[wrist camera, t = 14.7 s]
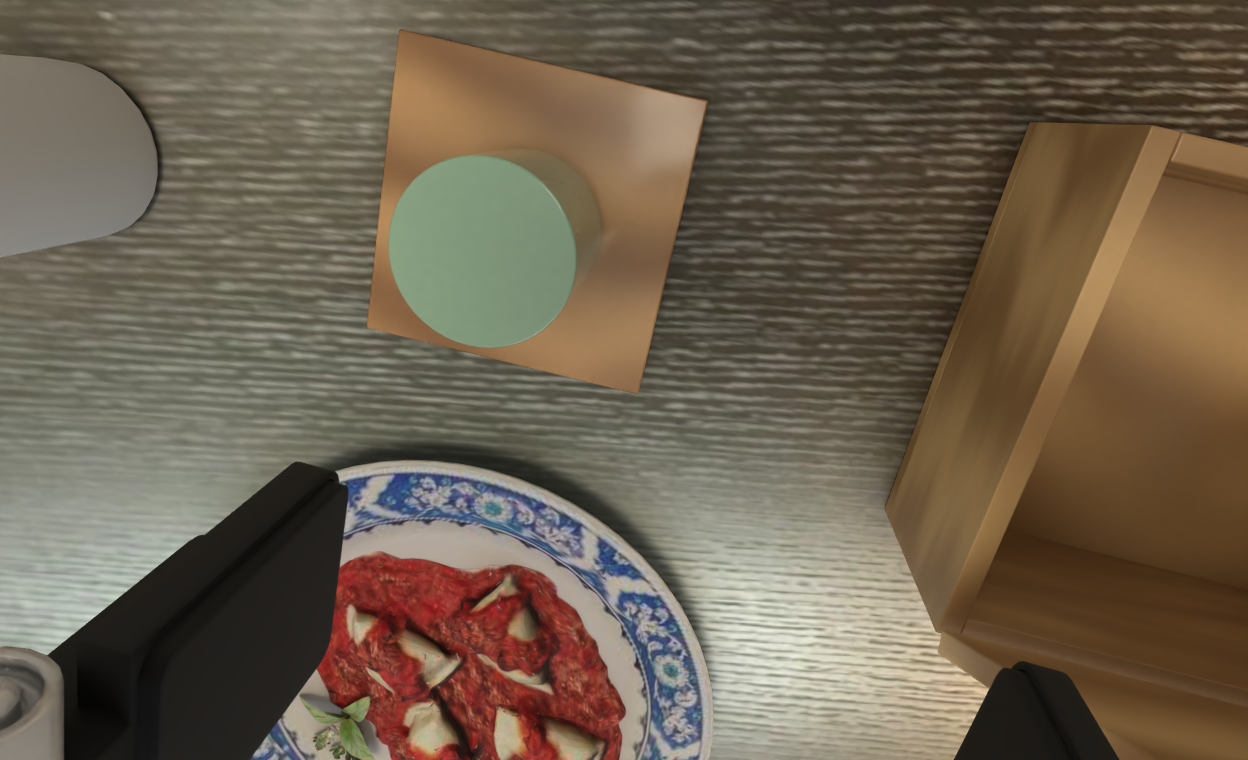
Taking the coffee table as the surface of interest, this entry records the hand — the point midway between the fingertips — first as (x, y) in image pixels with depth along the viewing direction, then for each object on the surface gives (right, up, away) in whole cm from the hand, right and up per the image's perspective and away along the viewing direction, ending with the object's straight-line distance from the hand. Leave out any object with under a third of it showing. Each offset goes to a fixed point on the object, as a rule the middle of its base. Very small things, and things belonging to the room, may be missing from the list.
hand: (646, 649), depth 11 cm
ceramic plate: (-9, -11, +30) cm, 33 cm away
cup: (-25, +13, +23) cm, 36 cm away
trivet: (-4, +10, +21) cm, 24 cm away
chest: (+21, +4, +21) cm, 30 cm away
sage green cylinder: (-4, +10, +21) cm, 23 cm away
